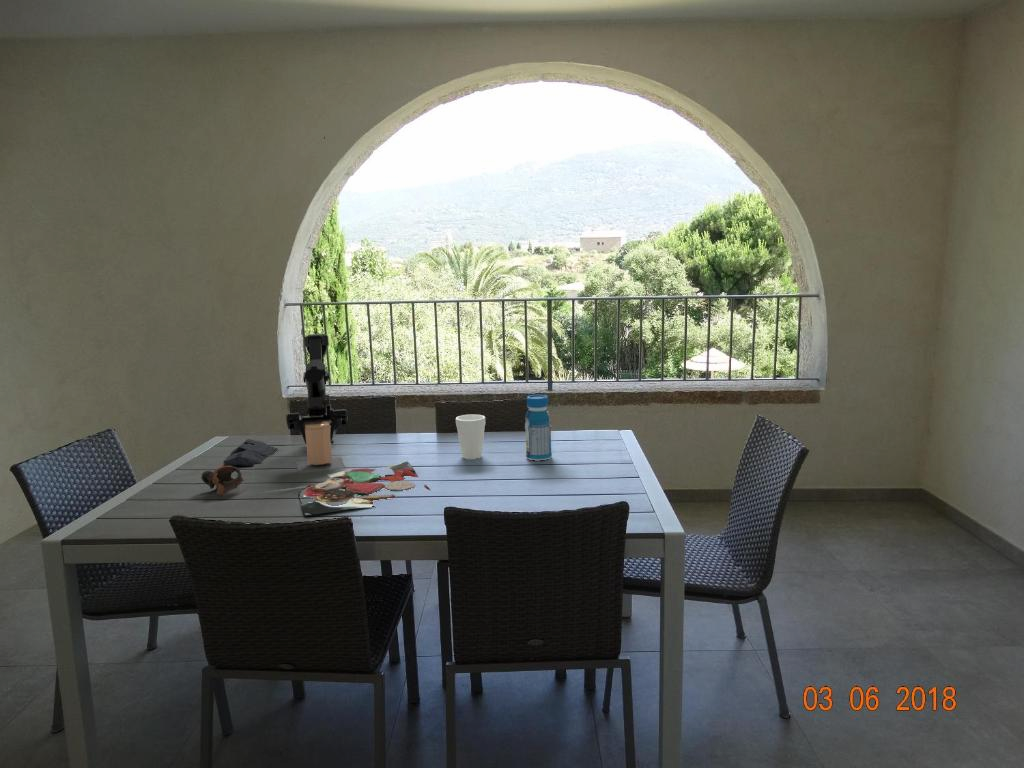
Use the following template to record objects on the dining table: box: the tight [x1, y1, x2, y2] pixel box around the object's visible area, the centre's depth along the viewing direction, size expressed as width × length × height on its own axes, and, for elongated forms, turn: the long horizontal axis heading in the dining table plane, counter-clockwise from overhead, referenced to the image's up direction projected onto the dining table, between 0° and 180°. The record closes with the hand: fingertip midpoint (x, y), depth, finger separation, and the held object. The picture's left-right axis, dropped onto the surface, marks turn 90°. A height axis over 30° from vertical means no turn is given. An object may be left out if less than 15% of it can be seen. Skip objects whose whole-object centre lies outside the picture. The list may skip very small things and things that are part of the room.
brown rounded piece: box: [200, 465, 245, 496], centre depth 211 cm, size 12×10×8 cm
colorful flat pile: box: [300, 461, 431, 515], centre depth 209 cm, size 35×35×2 cm
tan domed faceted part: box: [304, 422, 333, 465], centre depth 232 cm, size 7×7×12 cm
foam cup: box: [455, 414, 486, 460], centre depth 238 cm, size 10×9×13 cm
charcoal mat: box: [296, 456, 346, 474], centre depth 233 cm, size 14×14×1 cm
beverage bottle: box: [524, 394, 553, 462], centre depth 233 cm, size 8×8×20 cm
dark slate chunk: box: [222, 438, 279, 467], centre depth 246 cm, size 15×22×5 cm
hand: (318, 442), depth 230 cm, fingers closed on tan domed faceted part, 7 cm apart
